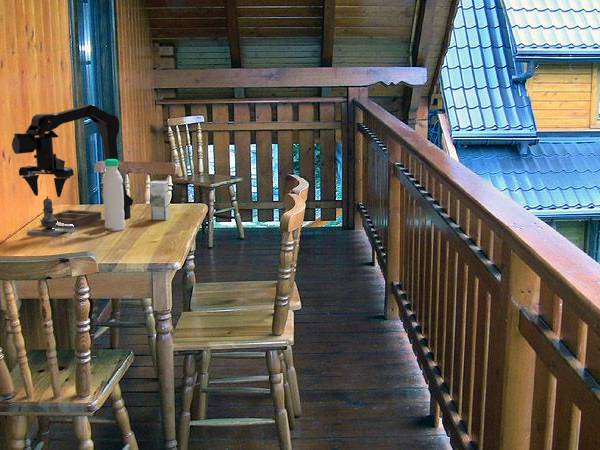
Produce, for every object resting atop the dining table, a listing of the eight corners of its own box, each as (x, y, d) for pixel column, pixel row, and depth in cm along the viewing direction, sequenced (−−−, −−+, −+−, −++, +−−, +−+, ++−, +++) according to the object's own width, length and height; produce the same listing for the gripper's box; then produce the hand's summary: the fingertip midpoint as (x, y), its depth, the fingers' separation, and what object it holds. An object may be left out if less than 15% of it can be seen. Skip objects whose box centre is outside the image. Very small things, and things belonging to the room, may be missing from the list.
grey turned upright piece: (55, 231, 287) (53, 197, 285) (38, 231, 287) (36, 197, 285) (60, 228, 293) (58, 194, 291) (43, 228, 293) (41, 194, 291)
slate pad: (71, 231, 292) (70, 228, 292) (56, 236, 285) (56, 233, 284) (42, 229, 296) (42, 226, 296) (27, 234, 288) (27, 231, 288)
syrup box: (169, 217, 316) (168, 180, 313) (165, 220, 310) (164, 182, 308) (155, 217, 317) (153, 179, 314) (150, 220, 311) (149, 182, 308)
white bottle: (120, 231, 291) (116, 160, 286) (101, 231, 293) (97, 160, 288) (128, 227, 298) (125, 158, 293) (110, 227, 299) (106, 158, 294)
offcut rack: (101, 222, 308) (101, 211, 308) (76, 230, 294) (75, 219, 293) (69, 220, 313) (68, 209, 312) (43, 228, 298) (42, 217, 297)
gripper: (81, 149, 289) (84, 193, 293) (36, 148, 296) (39, 191, 299) (62, 153, 279) (65, 199, 282) (16, 151, 285) (19, 196, 288)
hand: (47, 196), depth 288 cm, fingers open, 9 cm apart
